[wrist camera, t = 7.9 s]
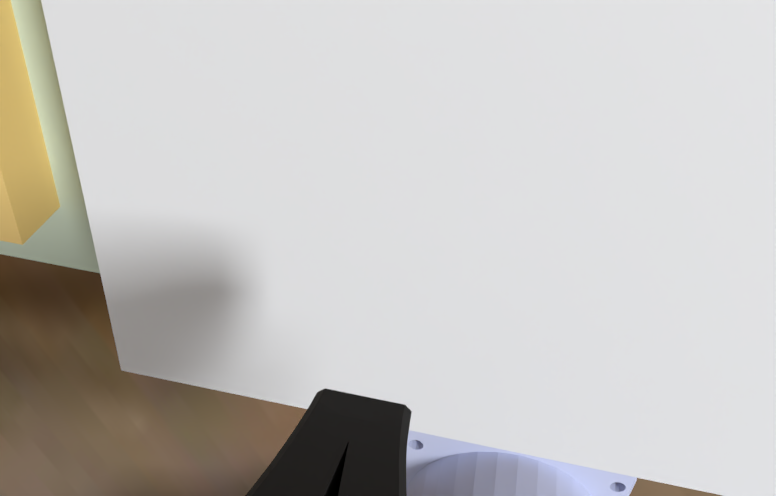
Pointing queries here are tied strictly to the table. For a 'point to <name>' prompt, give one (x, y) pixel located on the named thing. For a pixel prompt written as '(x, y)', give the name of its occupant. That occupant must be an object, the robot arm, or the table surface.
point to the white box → (447, 214)
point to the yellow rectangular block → (21, 144)
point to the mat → (53, 155)
